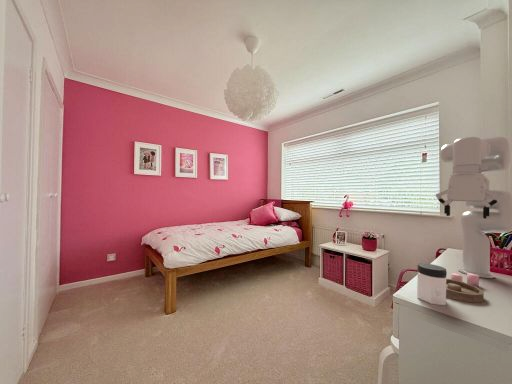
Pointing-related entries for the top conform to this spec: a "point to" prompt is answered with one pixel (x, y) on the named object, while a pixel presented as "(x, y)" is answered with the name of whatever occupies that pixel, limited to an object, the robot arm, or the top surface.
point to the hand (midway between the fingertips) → (465, 217)
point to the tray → (463, 291)
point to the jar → (431, 283)
